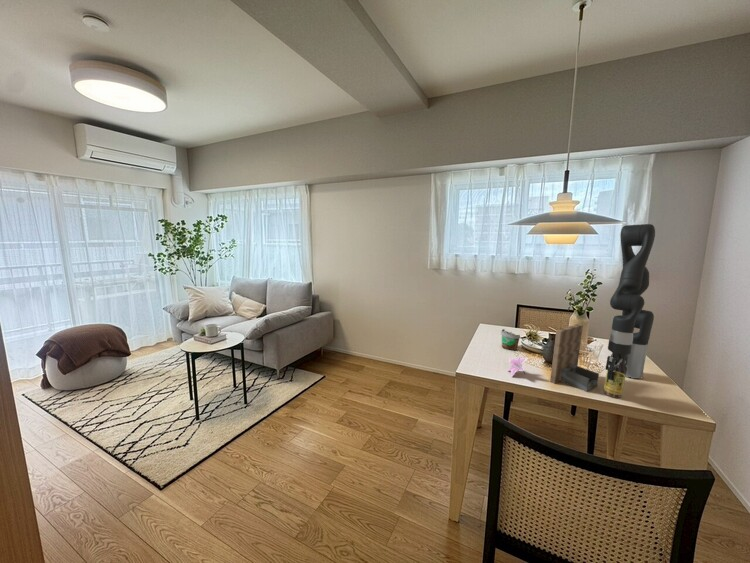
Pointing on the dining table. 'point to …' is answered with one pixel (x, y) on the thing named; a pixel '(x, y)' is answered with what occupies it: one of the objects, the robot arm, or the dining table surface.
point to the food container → (509, 340)
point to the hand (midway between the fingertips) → (614, 377)
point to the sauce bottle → (616, 380)
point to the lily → (516, 364)
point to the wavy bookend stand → (571, 360)
